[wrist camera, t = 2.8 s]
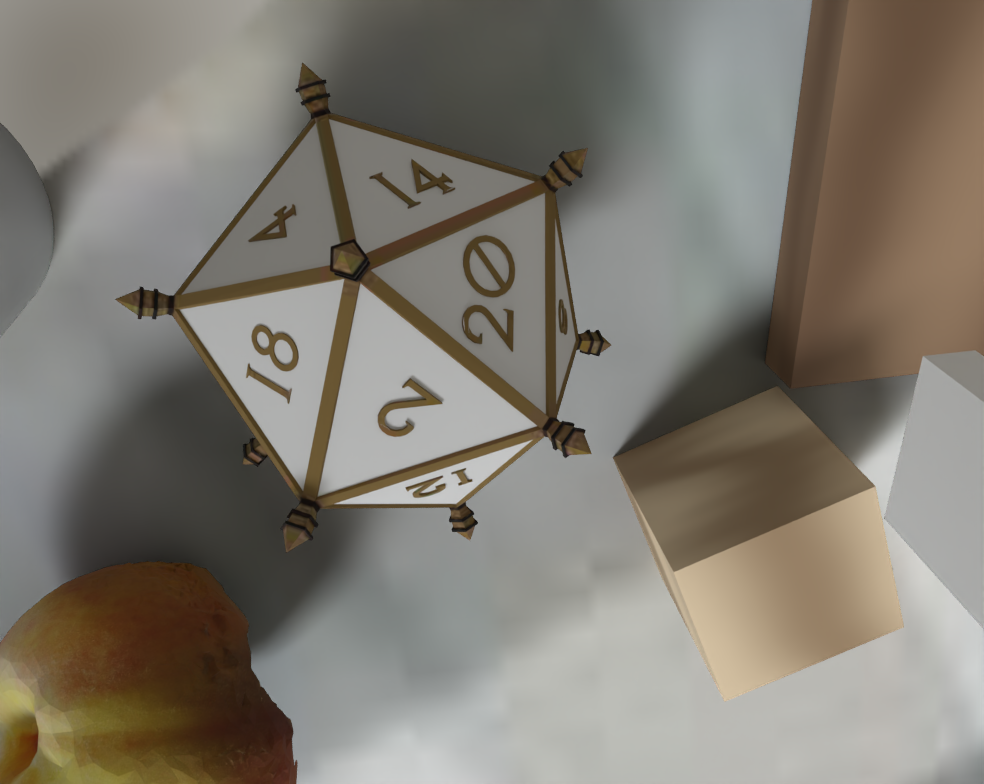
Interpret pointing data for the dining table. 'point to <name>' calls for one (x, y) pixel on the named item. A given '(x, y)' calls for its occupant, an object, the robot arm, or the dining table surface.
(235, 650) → the fruit
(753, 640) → the beech block
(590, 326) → the dining table surface
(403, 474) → the game die
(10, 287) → the white rounded cylinder
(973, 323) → the board
